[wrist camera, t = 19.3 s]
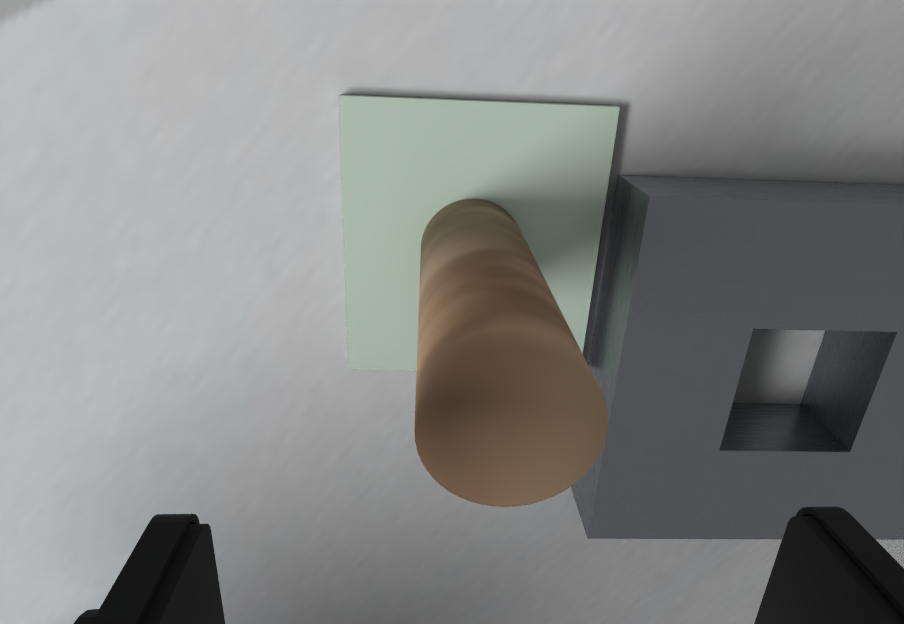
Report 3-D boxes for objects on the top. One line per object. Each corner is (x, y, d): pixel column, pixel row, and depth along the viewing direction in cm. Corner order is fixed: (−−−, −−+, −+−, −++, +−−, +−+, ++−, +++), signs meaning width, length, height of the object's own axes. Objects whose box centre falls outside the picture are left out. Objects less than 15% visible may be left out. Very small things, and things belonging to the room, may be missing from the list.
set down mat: (577, 367, 26) (579, 373, 26) (349, 363, 26) (348, 369, 25) (615, 105, 22) (619, 107, 21) (340, 94, 21) (338, 95, 21)
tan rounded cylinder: (526, 200, 22) (622, 347, 11) (518, 297, 24) (593, 507, 13) (421, 197, 22) (416, 343, 11) (419, 294, 24) (413, 506, 13)
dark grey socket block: (865, 485, 29) (918, 539, 26) (569, 483, 29) (587, 538, 26) (990, 188, 23) (1079, 210, 20) (618, 175, 23) (649, 196, 19)
